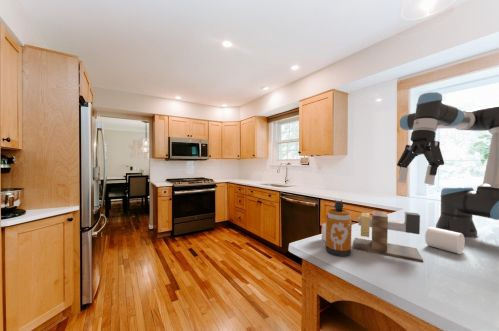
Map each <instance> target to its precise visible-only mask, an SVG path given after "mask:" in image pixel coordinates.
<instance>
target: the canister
mask: <svg viewBox="0 0 499 331" xmlns="http://www.w3.org/2000/svg"><path fill="white" fill-rule="evenodd" d="M343 207H344V202H343V199H341V200H337V199H335V202H334V205H332V206H329V207H328V211H327V214H328V217H327V216H326V221H325V223H326V241H325V251H327V252H328V253H331V254H332V255H334V256H340V257H342V256H343V257H344V256H349V255H351V254H352V226H353V224H352V223H353V222H352V219H351V213H350V212H349V211H348V210H346V209H343Z"/></svg>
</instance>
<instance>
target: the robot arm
mask: <svg viewBox="0 0 499 331" xmlns="http://www.w3.org/2000/svg"><path fill="white" fill-rule="evenodd" d="M415 108H416V109H415V112H413V113H408V114H406V115H403V116H401V118H400V119H399V127H400V128H401V129H402V130H403V131H412V132H411V135H410V141H411V142H412V143H411V145H410V144H406V145H405V146H404V150H403V151H402V154H401V156H400V158H399V159H398V161H397V163H396V166H398V167H399V174H398V175H399V176H398V180H397V183H402V184H406V182H407V177H408V172H409V165H410V164H411V163H412V162H413V161H414V159H415V158H416V157H418V156H420V155H423V156H424V157H425V159H426V161H427V163H428V165H427V166H426V167H427V168H426V172H425V178H424V184H427V185H432V186H433V185H434V184H435V180H436V179H435V177H436V176H437V173H438V167H440V166H444V165H445V161H444V157H443V155H442V151H441V148H440V147H441V146H440V145H441V144H440V141H439V140H436V134H437V133H436V132H437V129H455V130H458V131H478V132H479V131H480V132H481V131H484V132H485V131H488V133H490V134H491V135H492V136H491V141H490V145H489V146H490V147H489V152H488V156H487V161H486V165H485V166H486V167H485V171H484V176H483V182H482V183H481V184H479V185H478V186H477V187H476V190H475V189H474V187H472V186H471V187H443V188H442V189H441V192H440V216H439V217H438V220H437V222H436V224H435V228H439V229H444V230H448V231H453V232H458V233H462V234H463V235H464V238H465V237H466V238H476V237H478V230H477V228H476V224H475V222H474V220H473V216H476V217H481V218H487V219H492V220H495V221H499V104H494V105H489V106H484V107H480V108H475V109H472V110H461V109H459V108H458V107H456V106H453V105H450V104H448V103H445V102H443V94H442V93H440V92H437V91H436V92H435V91H430V92H429V91H428V92H425V93H422V94H420V95H419V97H418V99H417V103H416V107H415Z"/></svg>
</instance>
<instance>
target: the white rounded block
mask: <svg viewBox="0 0 499 331" xmlns="http://www.w3.org/2000/svg"><path fill="white" fill-rule="evenodd" d="M424 237H425V239H424V240H425V244H426V246H428V247H433V248H436V249H439V250H443V251H445V252H446V251H447V252H449V253H454V254H458V255H461V254H462V253H463V251H464V249H465V243H466V242H465V237H464V235H463V234H462V233H458V232H453V231H448V230H444V229H439V228H436V227H433V226H429V227H428V228H427V229H426V232H425V235H424Z"/></svg>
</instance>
